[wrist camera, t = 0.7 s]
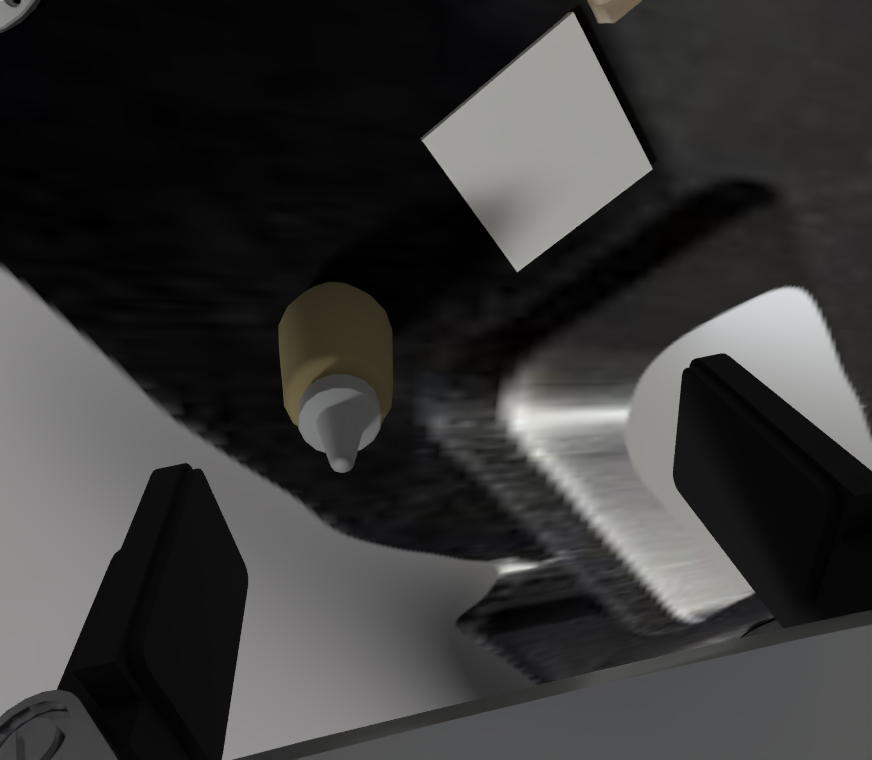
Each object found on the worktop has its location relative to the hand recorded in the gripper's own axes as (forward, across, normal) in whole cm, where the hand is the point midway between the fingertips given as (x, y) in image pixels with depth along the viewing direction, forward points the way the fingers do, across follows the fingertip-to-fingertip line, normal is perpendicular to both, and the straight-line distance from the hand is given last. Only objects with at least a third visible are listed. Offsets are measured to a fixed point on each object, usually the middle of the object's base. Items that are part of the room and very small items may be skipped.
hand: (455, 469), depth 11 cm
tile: (+33, -12, +2) cm, 35 cm away
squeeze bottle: (+33, +5, +11) cm, 35 cm away
